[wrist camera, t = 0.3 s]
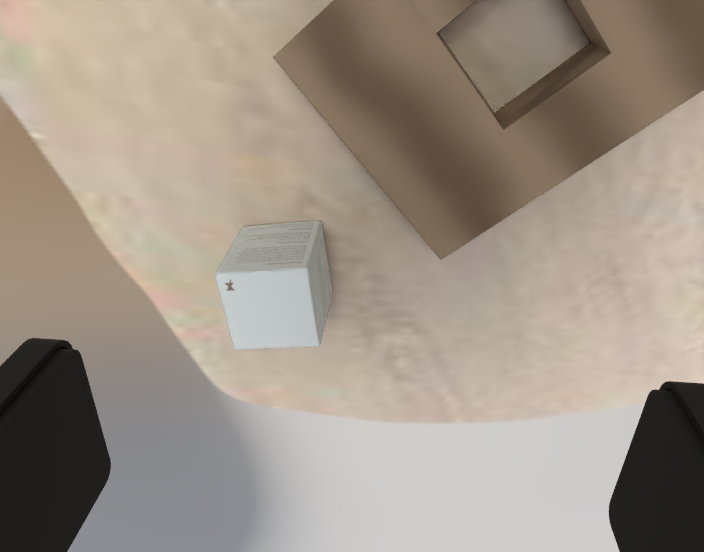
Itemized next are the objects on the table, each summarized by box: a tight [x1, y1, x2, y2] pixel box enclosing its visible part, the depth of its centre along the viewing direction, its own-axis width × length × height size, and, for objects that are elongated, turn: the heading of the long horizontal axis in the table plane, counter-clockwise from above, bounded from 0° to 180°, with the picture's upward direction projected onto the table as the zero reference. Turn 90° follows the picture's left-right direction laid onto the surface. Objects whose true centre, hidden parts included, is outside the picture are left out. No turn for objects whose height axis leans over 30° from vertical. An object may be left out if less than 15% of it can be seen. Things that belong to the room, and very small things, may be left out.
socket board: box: [273, 0, 704, 260], centre depth 32 cm, size 22×16×4 cm
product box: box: [215, 220, 332, 350], centre depth 40 cm, size 6×6×7 cm
